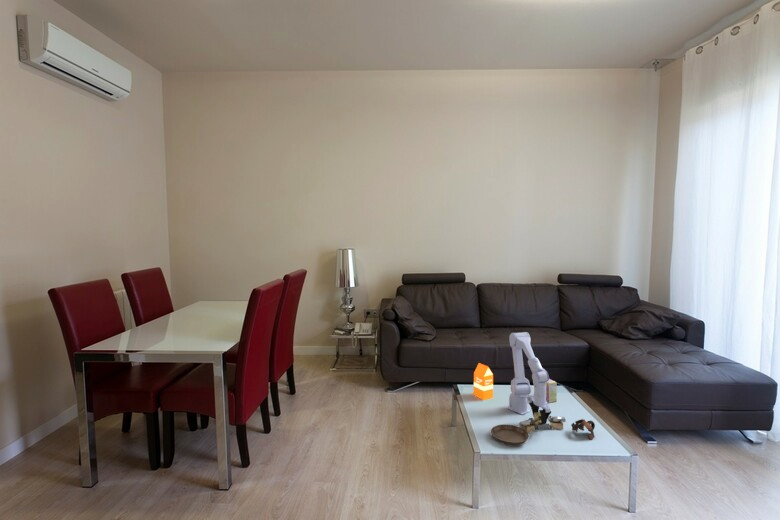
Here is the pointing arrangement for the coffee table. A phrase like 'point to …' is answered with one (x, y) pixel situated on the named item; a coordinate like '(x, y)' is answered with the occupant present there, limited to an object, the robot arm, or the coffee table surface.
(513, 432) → the plant saucer
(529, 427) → the shaft
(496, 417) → the coffee table surface
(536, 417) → the block
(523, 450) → the coffee table surface
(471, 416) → the coffee table surface
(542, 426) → the cradle
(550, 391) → the box
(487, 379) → the orange juice
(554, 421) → the shaft
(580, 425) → the pottery mug
